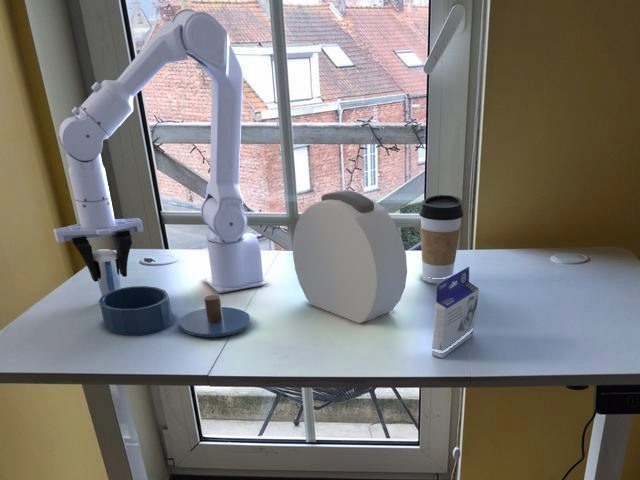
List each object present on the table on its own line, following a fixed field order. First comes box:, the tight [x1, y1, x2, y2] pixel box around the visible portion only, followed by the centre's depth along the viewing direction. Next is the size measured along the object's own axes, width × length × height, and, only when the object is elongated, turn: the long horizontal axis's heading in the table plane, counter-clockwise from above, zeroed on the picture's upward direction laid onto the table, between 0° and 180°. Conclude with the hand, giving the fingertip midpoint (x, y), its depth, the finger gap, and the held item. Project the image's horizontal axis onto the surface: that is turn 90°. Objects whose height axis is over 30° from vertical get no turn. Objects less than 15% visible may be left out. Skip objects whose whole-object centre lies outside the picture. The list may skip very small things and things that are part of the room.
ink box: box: [431, 266, 480, 359], centre depth 118 cm, size 12×2×12 cm, turn 148°
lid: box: [178, 294, 252, 338], centre depth 125 cm, size 12×12×5 cm
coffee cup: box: [418, 194, 464, 285], centre depth 142 cm, size 8×8×15 cm
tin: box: [98, 285, 173, 336], centre depth 126 cm, size 11×11×4 cm
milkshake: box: [92, 247, 122, 297], centre depth 132 cm, size 4×5×10 cm
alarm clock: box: [292, 189, 408, 324], centre depth 128 cm, size 21×8×20 cm, turn 47°
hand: (109, 277), depth 132 cm, fingers closed on milkshake, 4 cm apart
